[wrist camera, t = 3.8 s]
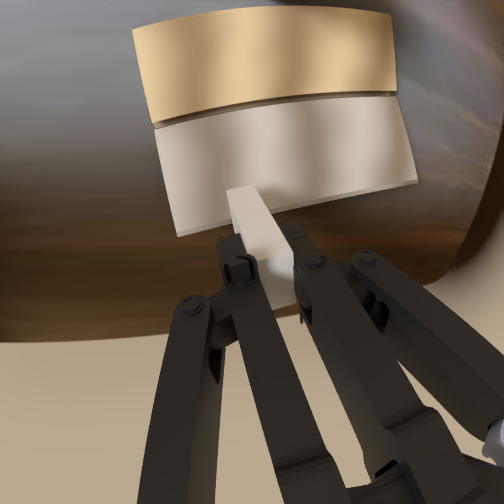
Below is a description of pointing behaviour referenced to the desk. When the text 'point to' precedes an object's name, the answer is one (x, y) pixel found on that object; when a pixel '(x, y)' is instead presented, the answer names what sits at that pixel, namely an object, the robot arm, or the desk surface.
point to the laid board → (262, 59)
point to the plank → (283, 156)
